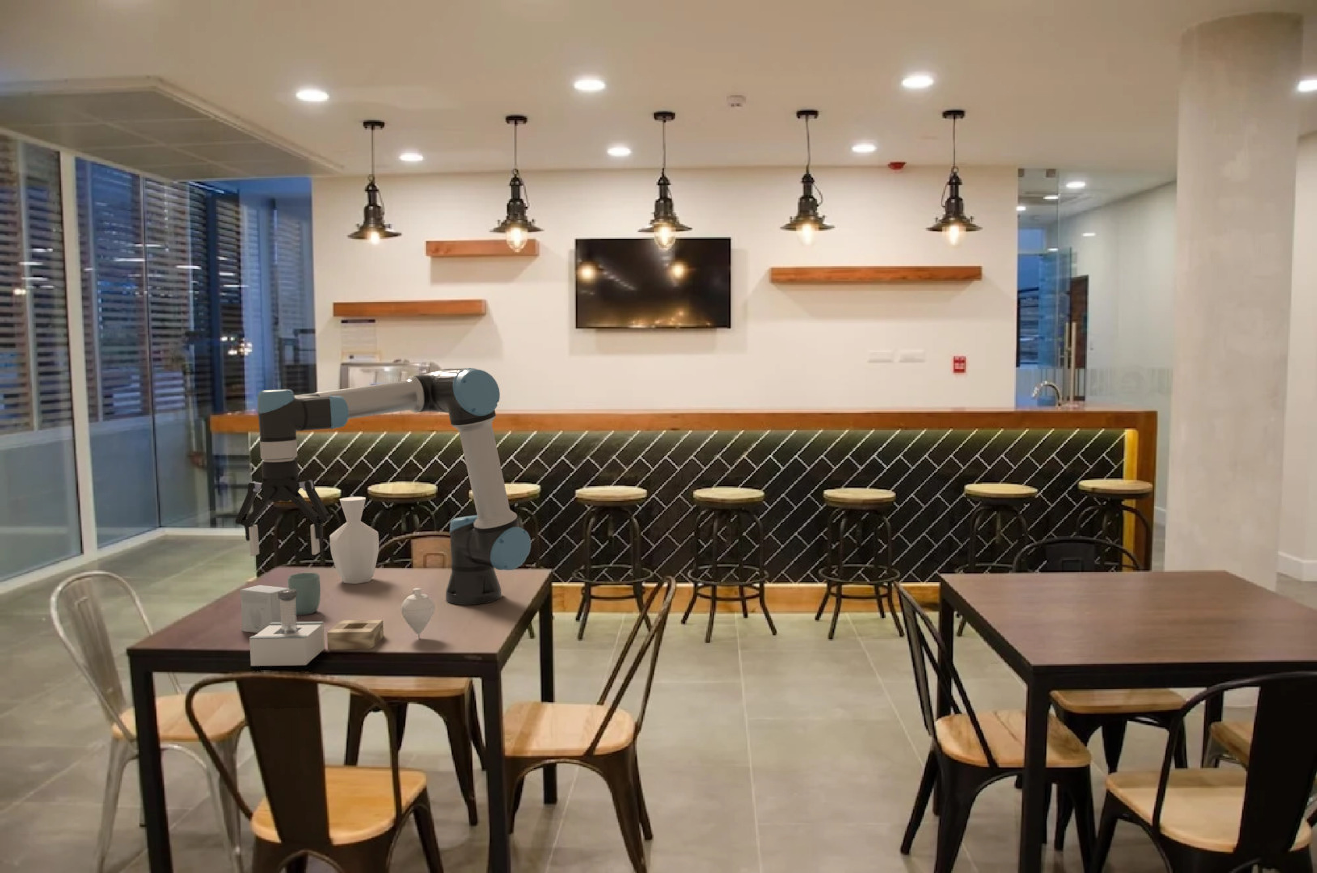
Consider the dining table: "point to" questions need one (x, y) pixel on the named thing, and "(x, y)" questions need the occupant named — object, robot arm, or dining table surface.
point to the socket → (287, 645)
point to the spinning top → (417, 610)
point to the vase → (354, 544)
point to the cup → (306, 592)
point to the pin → (288, 611)
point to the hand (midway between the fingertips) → (285, 554)
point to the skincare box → (260, 607)
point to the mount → (355, 634)
